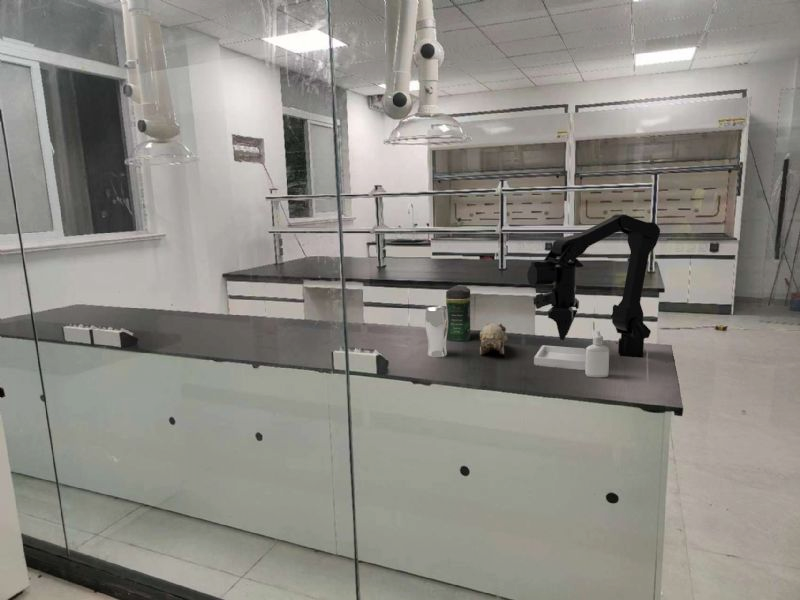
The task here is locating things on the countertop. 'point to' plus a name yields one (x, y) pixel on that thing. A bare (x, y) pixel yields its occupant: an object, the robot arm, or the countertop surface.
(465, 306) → the coffee jar
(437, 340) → the beer glass
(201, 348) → the countertop surface
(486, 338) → the animal skull replica
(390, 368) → the countertop surface
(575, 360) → the tray
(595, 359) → the eye dropper bottle
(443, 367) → the countertop surface
